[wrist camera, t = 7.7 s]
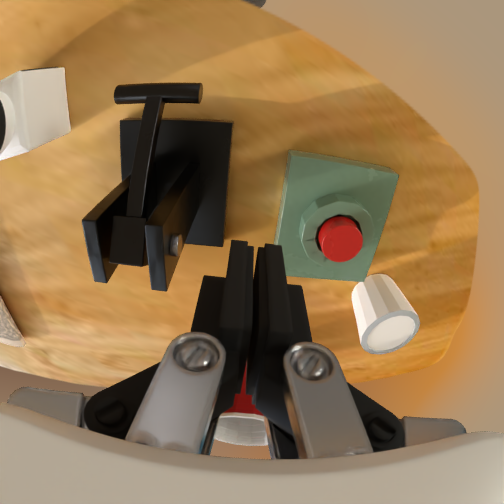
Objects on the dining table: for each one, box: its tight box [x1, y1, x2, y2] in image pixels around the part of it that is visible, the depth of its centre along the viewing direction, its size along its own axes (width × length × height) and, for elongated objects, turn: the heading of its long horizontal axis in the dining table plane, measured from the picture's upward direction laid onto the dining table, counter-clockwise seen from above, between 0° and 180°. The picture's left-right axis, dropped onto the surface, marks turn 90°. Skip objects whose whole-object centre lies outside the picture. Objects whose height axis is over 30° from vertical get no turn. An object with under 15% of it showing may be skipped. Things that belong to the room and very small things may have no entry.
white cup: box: [352, 274, 420, 354], centre depth 31 cm, size 7×7×7 cm
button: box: [318, 216, 363, 262], centre depth 25 cm, size 4×4×2 cm
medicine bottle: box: [0, 67, 71, 160], centre depth 17 cm, size 7×7×12 cm
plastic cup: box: [214, 361, 268, 446], centre depth 35 cm, size 11×11×12 cm
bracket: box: [82, 118, 234, 291], centre depth 21 cm, size 12×10×13 cm
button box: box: [274, 150, 399, 282], centre depth 27 cm, size 12×10×4 cm
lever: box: [109, 83, 203, 267], centre depth 17 cm, size 12×6×2 cm
